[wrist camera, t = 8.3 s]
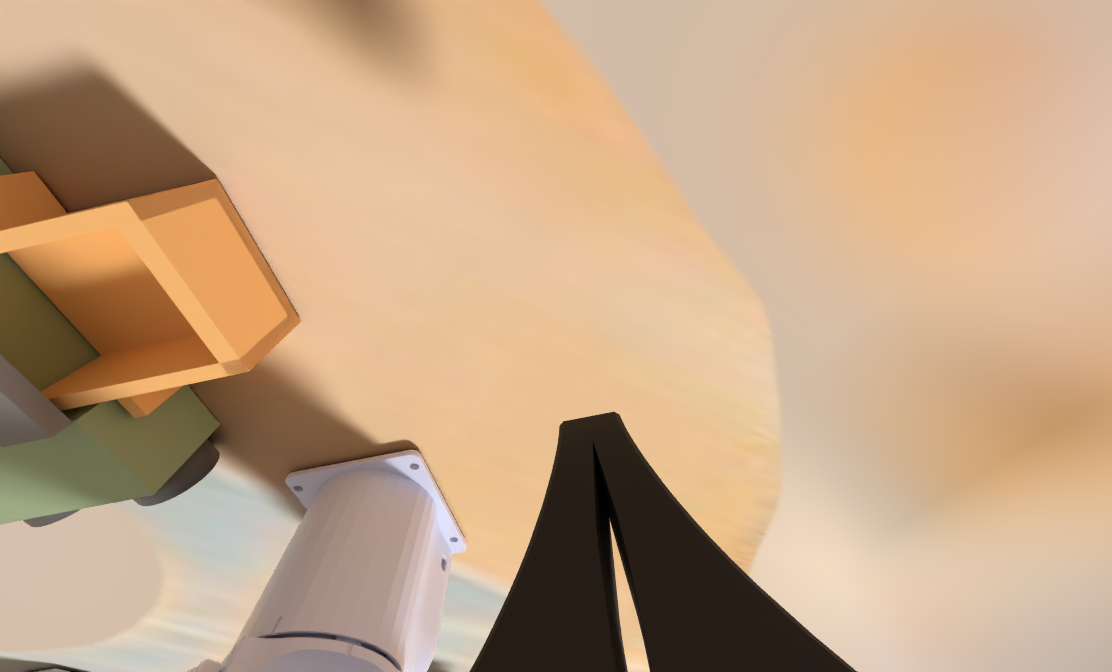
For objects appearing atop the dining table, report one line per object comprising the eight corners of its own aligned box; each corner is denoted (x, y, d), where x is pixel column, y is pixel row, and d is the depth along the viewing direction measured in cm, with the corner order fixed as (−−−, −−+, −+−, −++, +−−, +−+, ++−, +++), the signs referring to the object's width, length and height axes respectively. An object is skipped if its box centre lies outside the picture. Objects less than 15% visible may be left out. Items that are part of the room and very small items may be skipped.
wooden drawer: (317, 349, 20) (271, 403, 16) (145, 385, 20) (64, 445, 17) (190, 133, 15) (85, 143, 12) (-32, 186, 16) (-198, 212, 12)
